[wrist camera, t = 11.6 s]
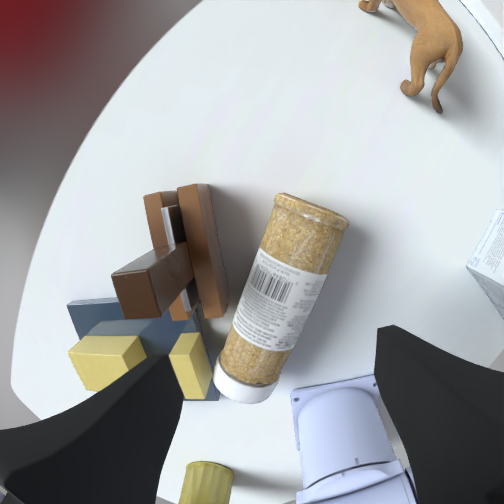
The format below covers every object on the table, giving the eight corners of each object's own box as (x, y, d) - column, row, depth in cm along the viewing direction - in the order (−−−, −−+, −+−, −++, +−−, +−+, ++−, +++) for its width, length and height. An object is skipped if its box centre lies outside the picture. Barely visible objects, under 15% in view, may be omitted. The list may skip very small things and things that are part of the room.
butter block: (154, 375, 20) (141, 397, 17) (101, 371, 21) (86, 390, 18) (138, 335, 19) (122, 355, 16) (85, 335, 20) (66, 352, 17)
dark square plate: (220, 393, 21) (218, 400, 20) (110, 388, 23) (106, 394, 22) (190, 289, 19) (187, 294, 18) (72, 300, 20) (66, 304, 19)
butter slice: (212, 374, 20) (205, 399, 17) (194, 374, 20) (185, 399, 17) (200, 331, 19) (189, 354, 16) (181, 333, 19) (168, 355, 16)
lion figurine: (319, -22, 13) (335, -92, 4) (369, -26, 12) (398, -84, 3) (413, 121, 15) (495, 92, 7) (458, 108, 14) (533, 86, 6)
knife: (215, 285, 19) (176, 360, 10) (191, 288, 19) (139, 360, 10) (198, 200, 18) (135, 214, 9) (173, 205, 18) (97, 224, 9)
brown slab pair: (230, 298, 19) (223, 317, 16) (185, 302, 19) (172, 321, 17) (208, 183, 17) (196, 183, 14) (161, 193, 18) (142, 196, 15)
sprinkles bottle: (284, 192, 18) (224, 356, 21) (268, 187, 13) (200, 386, 17) (349, 218, 17) (276, 380, 20) (355, 220, 12) (261, 416, 16)
